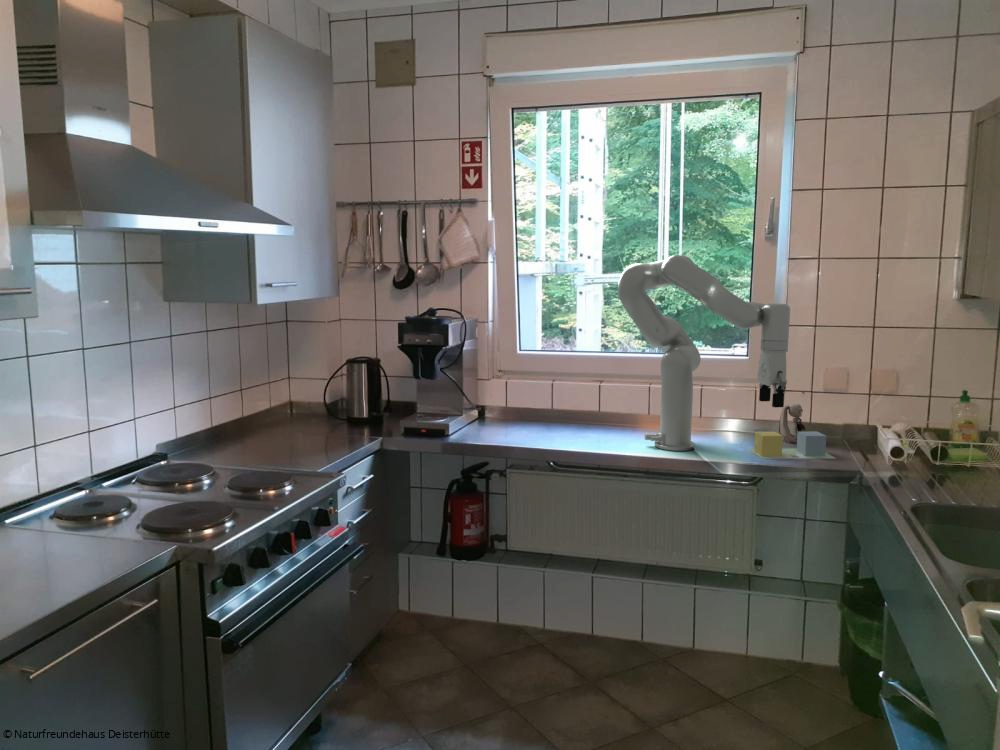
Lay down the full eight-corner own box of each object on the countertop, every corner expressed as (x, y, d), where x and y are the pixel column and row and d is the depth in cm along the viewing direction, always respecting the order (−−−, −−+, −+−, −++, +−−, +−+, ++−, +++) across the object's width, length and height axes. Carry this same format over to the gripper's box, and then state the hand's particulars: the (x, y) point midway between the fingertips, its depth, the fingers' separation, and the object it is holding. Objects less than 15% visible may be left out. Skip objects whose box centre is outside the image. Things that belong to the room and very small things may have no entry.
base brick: (805, 455, 227) (806, 435, 227) (796, 450, 233) (797, 431, 232) (825, 455, 228) (826, 435, 227) (815, 450, 234) (817, 431, 233)
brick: (761, 456, 227) (762, 436, 226) (754, 451, 233) (755, 431, 232) (781, 456, 227) (782, 436, 226) (773, 451, 233) (774, 431, 232)
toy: (814, 446, 242) (801, 400, 241) (786, 452, 244) (774, 407, 243) (808, 439, 251) (797, 395, 250) (782, 446, 253) (770, 402, 252)
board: (761, 462, 224) (762, 458, 224) (746, 452, 236) (747, 448, 236) (836, 462, 225) (836, 457, 225) (817, 452, 237) (817, 447, 237)
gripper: (750, 343, 234) (747, 399, 236) (773, 349, 217) (770, 409, 219) (774, 343, 234) (771, 398, 237) (799, 349, 217) (796, 409, 219)
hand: (771, 404), depth 228 cm, fingers open, 9 cm apart
